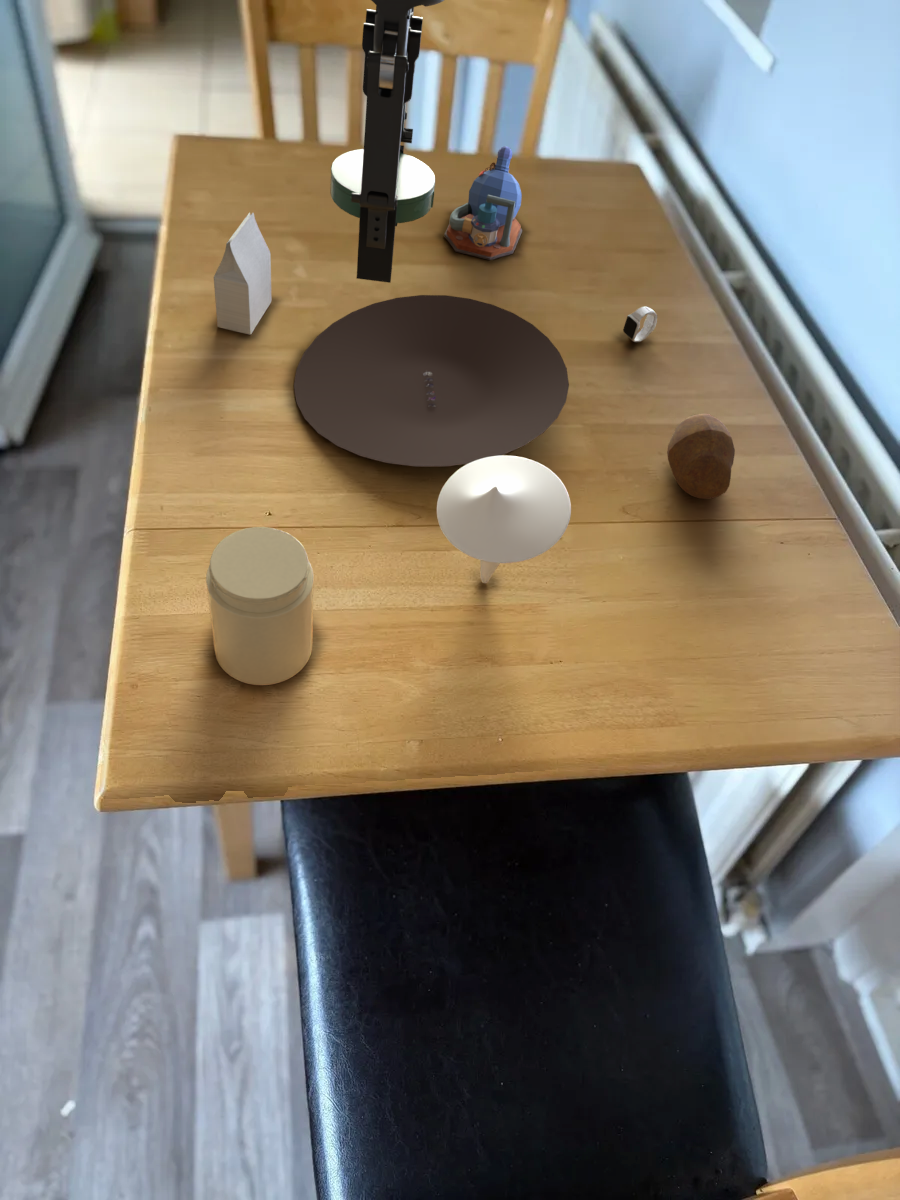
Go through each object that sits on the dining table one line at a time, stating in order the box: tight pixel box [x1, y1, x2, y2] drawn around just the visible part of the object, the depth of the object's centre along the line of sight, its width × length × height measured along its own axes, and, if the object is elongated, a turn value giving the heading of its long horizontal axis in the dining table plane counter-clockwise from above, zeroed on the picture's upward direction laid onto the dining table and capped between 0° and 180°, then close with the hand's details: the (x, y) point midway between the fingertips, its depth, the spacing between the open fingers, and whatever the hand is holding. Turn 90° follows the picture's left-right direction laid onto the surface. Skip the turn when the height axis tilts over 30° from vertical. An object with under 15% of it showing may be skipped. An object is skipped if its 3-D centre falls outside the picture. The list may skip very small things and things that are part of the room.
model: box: [443, 145, 523, 261], centre depth 113 cm, size 12×9×9 cm
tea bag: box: [213, 211, 273, 336], centre depth 95 cm, size 4×7×10 cm, turn 168°
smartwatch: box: [622, 306, 658, 343], centre depth 104 cm, size 4×2×4 cm, turn 121°
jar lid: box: [329, 148, 436, 224], centre depth 71 cm, size 8×8×2 cm
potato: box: [666, 413, 736, 500], centre depth 89 cm, size 7×10×6 cm
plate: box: [293, 294, 570, 467], centre depth 93 cm, size 28×28×4 cm
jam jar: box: [205, 526, 315, 686], centre depth 68 cm, size 8×8×10 cm
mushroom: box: [436, 455, 572, 584], centre depth 74 cm, size 10×11×12 cm
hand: (377, 248), depth 75 cm, fingers closed on jar lid, 8 cm apart
